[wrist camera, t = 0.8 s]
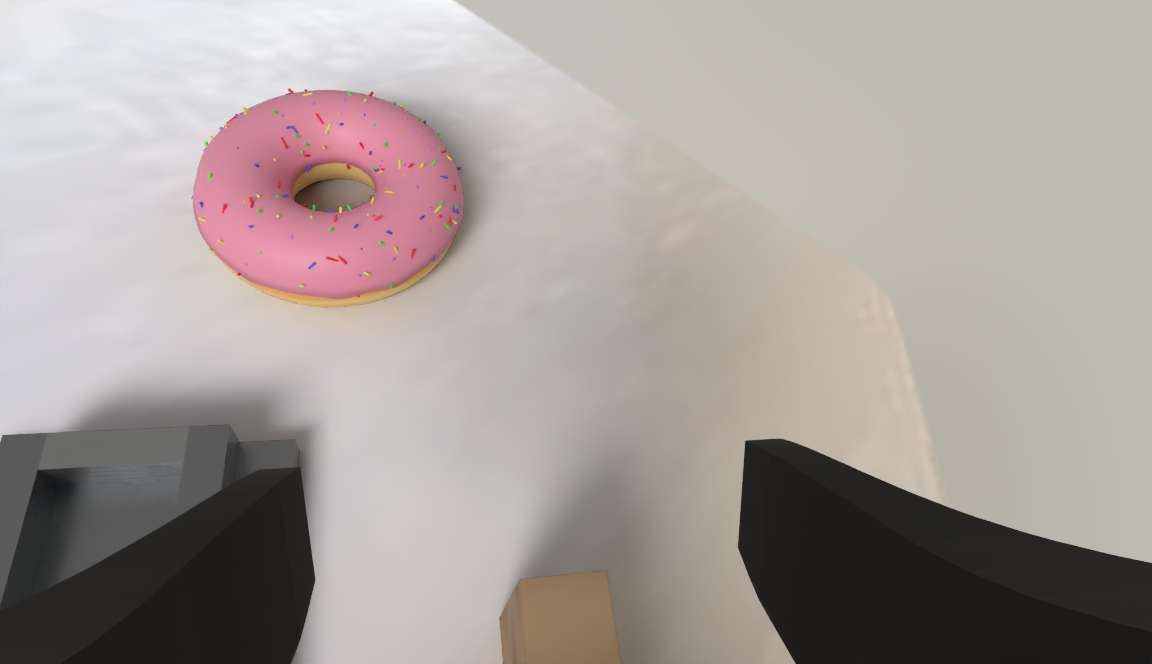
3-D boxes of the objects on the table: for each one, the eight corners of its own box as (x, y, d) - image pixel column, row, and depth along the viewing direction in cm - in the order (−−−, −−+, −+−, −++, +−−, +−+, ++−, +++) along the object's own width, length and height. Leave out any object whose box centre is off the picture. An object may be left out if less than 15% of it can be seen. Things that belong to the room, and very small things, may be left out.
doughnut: (199, 338, 27) (166, 275, 23) (211, 139, 32) (185, 63, 29) (478, 314, 30) (485, 255, 26) (446, 135, 35) (448, 67, 32)
